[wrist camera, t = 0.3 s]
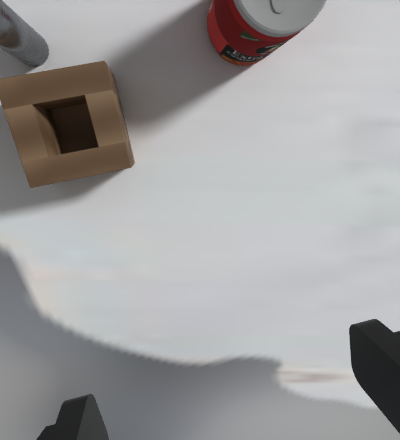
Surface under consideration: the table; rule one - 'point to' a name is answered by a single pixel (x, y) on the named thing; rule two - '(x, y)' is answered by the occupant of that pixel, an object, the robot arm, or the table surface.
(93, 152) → the socket block
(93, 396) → the robot arm
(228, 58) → the canned food
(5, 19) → the pin
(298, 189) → the table surface
